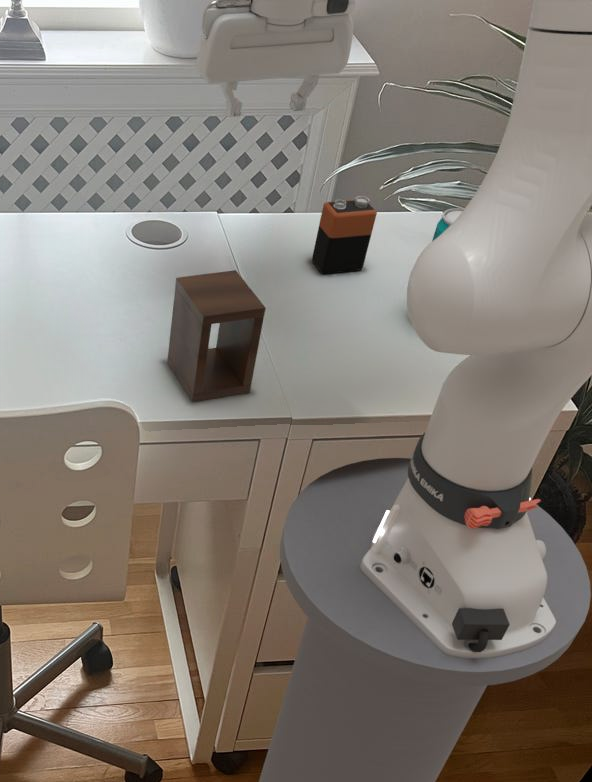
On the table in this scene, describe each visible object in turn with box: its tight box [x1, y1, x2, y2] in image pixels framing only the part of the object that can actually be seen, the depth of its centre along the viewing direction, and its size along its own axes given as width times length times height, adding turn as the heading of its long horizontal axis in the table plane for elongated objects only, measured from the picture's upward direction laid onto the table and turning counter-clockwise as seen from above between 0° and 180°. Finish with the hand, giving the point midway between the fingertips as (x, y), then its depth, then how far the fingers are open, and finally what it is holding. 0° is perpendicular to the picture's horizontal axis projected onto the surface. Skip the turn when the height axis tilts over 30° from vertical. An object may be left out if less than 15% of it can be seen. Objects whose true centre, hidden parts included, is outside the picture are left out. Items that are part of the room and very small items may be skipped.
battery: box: [311, 195, 378, 275], centre depth 146 cm, size 4×7×10 cm, turn 106°
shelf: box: [166, 269, 267, 403], centre depth 125 cm, size 9×8×12 cm
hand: (264, 112), depth 132 cm, fingers open, 8 cm apart
